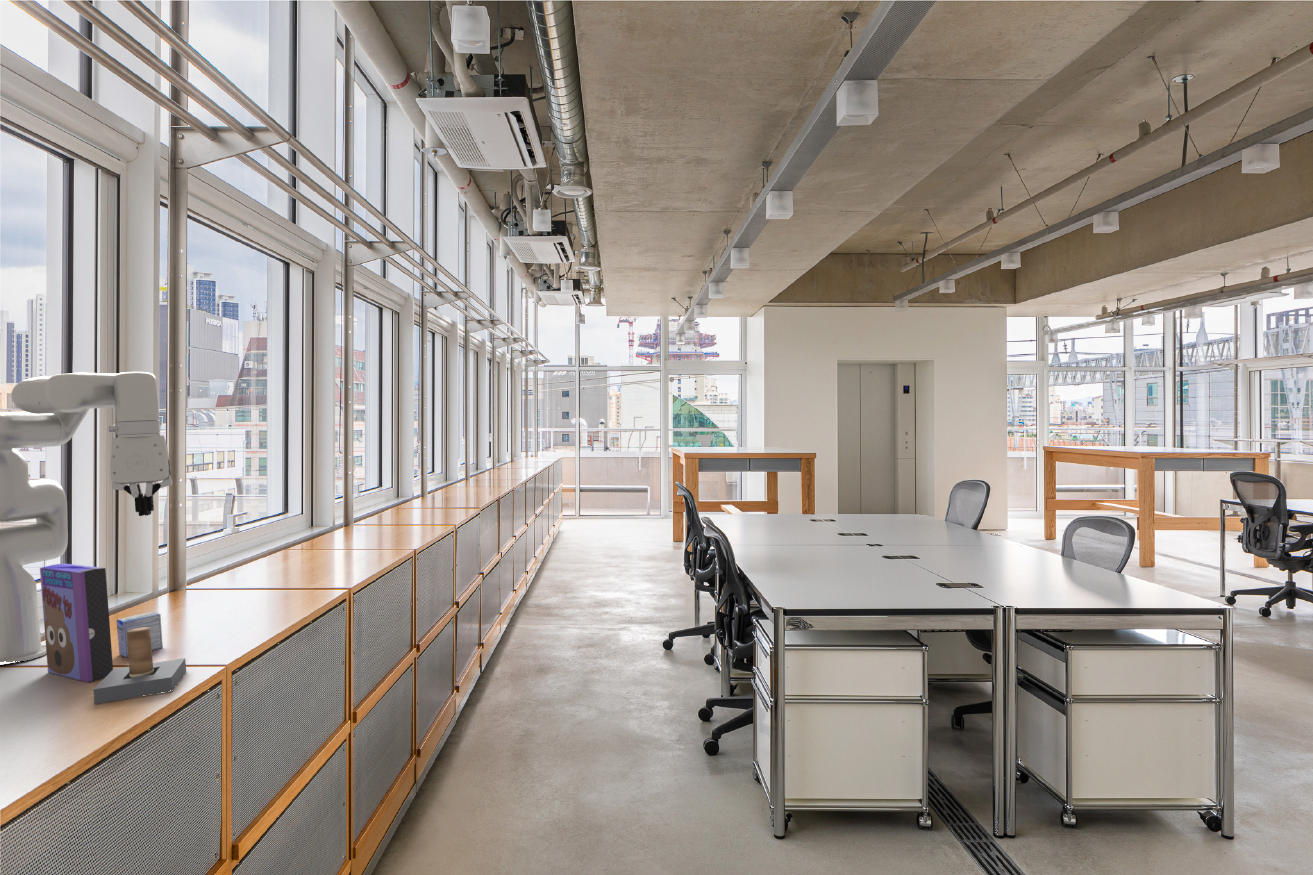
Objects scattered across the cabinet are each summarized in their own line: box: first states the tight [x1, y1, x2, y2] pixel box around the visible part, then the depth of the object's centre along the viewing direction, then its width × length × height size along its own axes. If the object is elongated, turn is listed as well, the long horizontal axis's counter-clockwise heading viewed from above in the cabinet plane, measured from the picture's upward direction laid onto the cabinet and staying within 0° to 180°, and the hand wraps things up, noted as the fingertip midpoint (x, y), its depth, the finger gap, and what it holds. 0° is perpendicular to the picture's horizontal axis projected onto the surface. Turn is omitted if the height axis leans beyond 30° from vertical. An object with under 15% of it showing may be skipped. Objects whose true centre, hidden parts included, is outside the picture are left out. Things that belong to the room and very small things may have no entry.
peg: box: [127, 627, 154, 678], centre depth 151 cm, size 4×4×12 cm
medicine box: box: [116, 611, 164, 658], centre depth 176 cm, size 8×4×9 cm, turn 144°
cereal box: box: [39, 563, 114, 684], centre depth 161 cm, size 17×5×24 cm, turn 62°
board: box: [93, 657, 187, 705], centre depth 151 cm, size 13×13×3 cm
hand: (145, 514), depth 157 cm, fingers closed
